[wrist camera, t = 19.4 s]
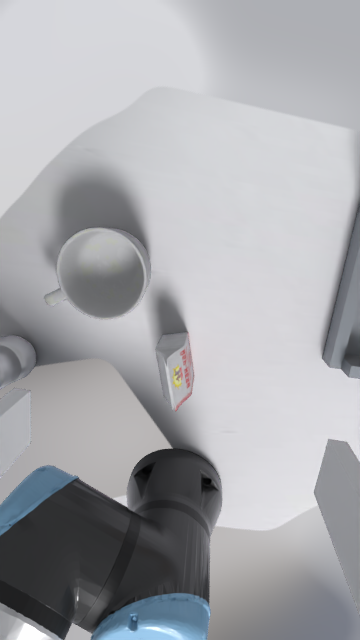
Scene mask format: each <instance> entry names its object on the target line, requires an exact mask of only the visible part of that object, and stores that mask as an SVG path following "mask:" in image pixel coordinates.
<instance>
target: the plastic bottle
mask: <svg viewBox="0 0 360 640" xmlns="http://www.w3.org/2000/svg"><path fill="white" fill-rule="evenodd" d="M35 364H36V353H35V350H34V348H33V346H32V345H31V344H30V343H29V342H28V341H27V340H25V339H24V338H22V337H19V336H15V335H11V336H5V337H1V338H0V389H2V388H3V387H5V386H7V385H8V384H10V383H12V382H15V381H18V380H20V379H22V378H24V377H26V376H27V375H28V374H29V373H30V372H31V371H32V369H33V368H34V366H35Z"/></svg>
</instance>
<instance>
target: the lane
mask: <svg viewBox="0 0 360 640" xmlns="http://www.w3.org/2000/svg"><path fill="white" fill-rule="evenodd" d="M322 359H323V360H324V362H325V363H326V364H327V365H328V366H329V367H330V368H337V369H342V371H343V372H344V373H345V374H346V375H347V376H348V377H351V378H358V379H360V204H359V208H358V212H357V217H356V221H355V225H354V229H353V233H352V237H351V242H350V246H349V250H348V254H347V258H346V262H345V267H344V271H343V275H342V279H341V283H340V288H339V292H338V296H337V300H336V304H335V308H334V313H333V317H332V321H331V325H330V329H329V333H328V338H327V342H326V346H325V350H324V354H323V358H322Z"/></svg>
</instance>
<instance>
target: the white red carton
mask: <svg viewBox="0 0 360 640" xmlns="http://www.w3.org/2000/svg"><path fill="white" fill-rule="evenodd" d="M156 355H157V361H158V366H159V372H160V378H161V384H162V390H163V396H164V398H165V399H166V401H167V402H168V403H169V404H170V406H171V408H172V411H173V406H174V409H175V411H177V409H178V408H179V406H180V405H181V404H182V403H183V402H184V401H185V400H186V399H187V398H188V397H189V396H191V394H192V387H193V381H194V371H193V364H192V357H191V350H190V343H189V336H188V332H184V333H175V334H166V335H162V337H161V339H160V341H159V343H158V345H157V347H156Z"/></svg>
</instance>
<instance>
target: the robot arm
mask: <svg viewBox="0 0 360 640" xmlns="http://www.w3.org/2000/svg"><path fill="white" fill-rule="evenodd" d="M30 443H31V391H30V390H25V389H18V388H14V389H12V390H11V391H10V392H9V393H7V394H6V395H5V396H3V397H2V398H1V399H0V478H1V477H2V476H3V474H4V473H5V472H6V471H7V470H8V469H9V468H10V466H11V465H12V464H13V463H14V462H15V461H16V459H17V458H18V457H19V456H20V455H21V454H22V453H23V452H24V450H25V449H26V448H27V447H28V446H29V444H30ZM314 494H315V497H316V500H317V503H318V505H319V508H320V510H321V513H322V516H323V518H324V521H325V524H326V526H327V529H328V532H329V535H330V537H331V540H332V543H333V545H334V548H335V551H336V554H337V556H338V559H339V561H340V564H341V567H342V570H343V572H344V575H345V578H346V580H347V583H348V586H349V589H350V591H351V594H352V597H353V599H354V602H355V604H356V607H357V610H358V613H359V615H360V462H359V461H358V459H357V457H356V456H355V454H354V452H353V451H352V449H351V448H350V446H349V444H348V443H347V442H344V441H338V440H331V439H328V443H327V446H326V450H325V453H324V457H323V461H322V464H321V468H320V472H319V475H318V479H317V482H316V486H315V490H314ZM127 505H128V508H127V507H125V506H124V505H122V504H120V503H119V502H117V501H115V500H113V499H112V498H110V497H108V496H106V495H105V494H103V493H101V492H99V491H98V490H96V489H94V488H93V487H91V486H89V485H88V484H86V483H84V482H83V481H81V480H80V479H79V477H78V476H72V475H70V474H68V473H66V472H64V471H62V470H60V469H58V468H56V467H54V466H50V465H49V466H48V465H47V466H42V467H40V468H38V469H36V470H35V471H33V472H32V473H31V474H30V475H28V476H27V477H26V478H25V479H24V480H23V481H22V482H21V483H20V484H19V485H18V487H16V488H15V489H14V490H13V492H12V493H11V494H10V495H9V496H8V497H7V498H6V499H5V500H4V501H3V503H2V504H1V505H0V640H64V639H65V637H66V635H67V633H68V631H69V628H70V626H71V624H72V623H74V624H76V625H78V626H80V627H81V628H83V629H85V630H87V631H88V632H90V633H92V636H91V640H207V636H208V625H209V618H210V607H209V583H210V581H209V580H210V536H211V534H212V531H213V529H214V526H215V524H216V521H217V519H218V517H219V514H220V511H221V507H222V486H221V481H220V479H219V476H218V474H217V473H216V471H215V470H214V468H213V467H212V466H211V465H210V464H209V463H208V462H207V461H206V460H204V459H203V458H201V457H200V456H198V455H196V454H194V453H192V452H189V451H185V450H181V449H162V450H158V451H155V452H152V453H150V454H148V455H146V456H145V457H144V458H142V459H141V460H140V461H139V462H138V463H137V465H136V466H135V467H134V469H133V472H132V474H131V477H130V480H129V483H128V487H127Z"/></svg>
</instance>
